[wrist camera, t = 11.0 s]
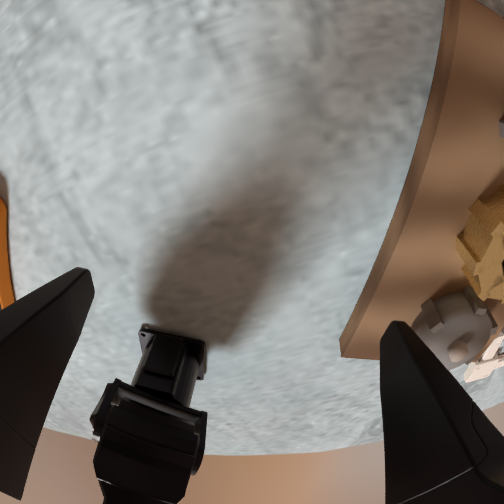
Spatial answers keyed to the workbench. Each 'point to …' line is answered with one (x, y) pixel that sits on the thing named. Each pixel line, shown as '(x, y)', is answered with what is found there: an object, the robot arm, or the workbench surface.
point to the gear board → (442, 203)
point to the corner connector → (486, 362)
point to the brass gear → (484, 246)
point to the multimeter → (4, 261)
